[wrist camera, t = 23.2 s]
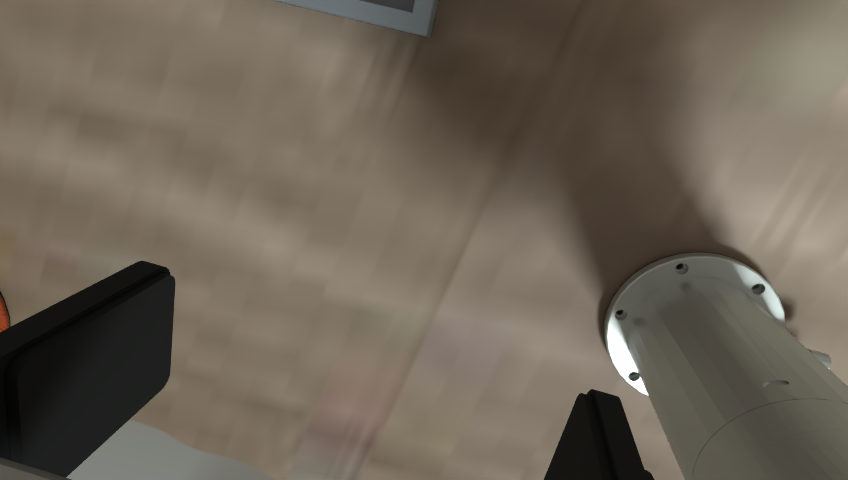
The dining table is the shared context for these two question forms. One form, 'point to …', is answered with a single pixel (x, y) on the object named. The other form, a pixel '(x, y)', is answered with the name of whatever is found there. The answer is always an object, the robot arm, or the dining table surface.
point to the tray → (380, 12)
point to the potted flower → (3, 316)
